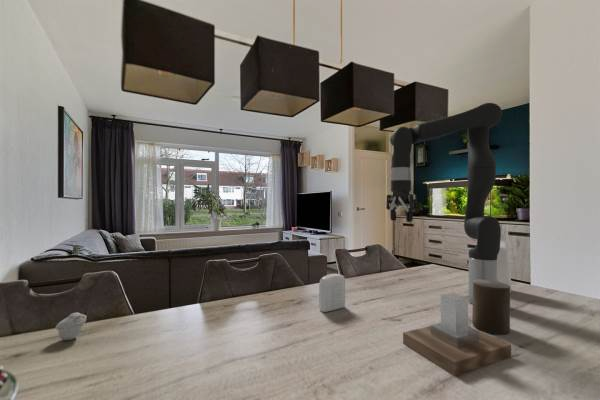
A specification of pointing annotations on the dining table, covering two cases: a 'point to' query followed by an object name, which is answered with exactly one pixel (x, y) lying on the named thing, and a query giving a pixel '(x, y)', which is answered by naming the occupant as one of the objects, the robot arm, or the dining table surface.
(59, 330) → the frog figurine
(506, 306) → the pillar candle
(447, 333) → the block
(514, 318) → the dining table surface
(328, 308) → the photo printer
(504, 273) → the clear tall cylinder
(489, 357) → the walnut plinth
